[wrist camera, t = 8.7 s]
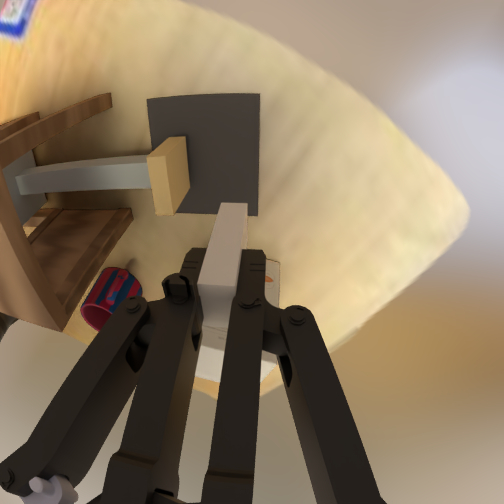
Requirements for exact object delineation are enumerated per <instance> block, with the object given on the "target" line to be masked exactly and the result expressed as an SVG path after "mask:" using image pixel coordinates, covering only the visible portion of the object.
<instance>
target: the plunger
mask: <svg viewBox="0 0 504 504" xmlns="http://www.w3.org/2000/svg"><path fill="white" fill-rule="evenodd" d="M2 171H3V174H4V178H5V181H6V184H7V187H8V190H9V193H10V196H11V199H12V201H13V204H14V207H15V210H16V212H17V215H18V217H19V220H20V222H21V225H22V226H23V225H24V224H25V223H26V222H27V221H28V220H29V219H30V218H31V217H32V216H33V215H34V214H35V213H36V212H37V211H38V210H39V209H40V208H41V207H42V206H43V205H45V204H46V203H47V200H46V197H45V194H44V193H51V192H66V191H84V190H107V189H152V195H153V200H154V206H155V211H156V215H169V216H174V214H175V212H176V210H177V209H178V207H179V205H180V204H181V202H182V200H183V199H184V197H185V195H186V194H187V192H188V190H189V189H190V181H189V171H188V161H187V150H186V138H185V136H184V137H169V138H168V139H166V140H165V141H164V142H163V143H162V144H161V145H159V146H158V147H157V148H156V149H155V150H154V151H153V152H152V153H150V154H149V155H135V156H121V157H110V158H99V159H90V160H81V161H73V162H65V163H58V164H51V165H45V166H39V167H36V164H35V160H34V156H33V152H32V150H30V151H29V152H27V153H26V154H24V155H22V156H21V157H19V158H18V159H16V160H15V161H14V162H12V163H11V164H9V165H8V166H6V167H5V168H4V169H2Z"/></svg>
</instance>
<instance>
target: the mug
mask: <svg viewBox="0 0 504 504" xmlns="http://www.w3.org/2000/svg"><path fill="white" fill-rule="evenodd" d="M134 295H137V296H142V288H141V286H140V284H139V282H138V281H137V280H136V278H135V277H134V276H132V275H131V274H130V273H128V271H126V270H124V269H120V268H115V267H110V268H106V269H104V270H103V271H102V273H101V274H100V276H99V277H98V279H97V281H96V282H95V284H94V286H93V287H92V289H91V291H90V292H89V294H88V296H87V297H86V299H85V301H84V303H83V304H82V306H81V309H80V311H81V314H82V317H83V318H84V320H85V321H86V322H87V323H88V324H89V325H90V326H91V327H92V328H94V329H95V330H97V331H100V330H101V328H102V327H103V326H104V324H105V323H106V322H107V320H108V319H109V318H110V316H111V315H112V314H113V312H114V311H115V310H116V309H117V307H118V306H119V305H120V303H121V302H122V301H123V300H124V299H126V298H128V297H130V296H134Z"/></svg>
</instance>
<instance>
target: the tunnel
mask: <svg viewBox="0 0 504 504" xmlns="http://www.w3.org/2000/svg"><path fill="white" fill-rule="evenodd" d="M111 107H112V100H111V93H106V94H101V95H97V96H94V97H92V98H89V99H87V100H84V101H81V102H79V103H76V104H74V105H72V106H69V107H67V108H64V109H62V110H60V111H58V112H55V113H53V114H51V115H49V116H47V117H45V118H43V119H41V120H40V118H39V112H35V113H32V114H29V115H26V116H24V117H21V118H18V119H16V120H13V121H10V122H8V123H5V124H3V125H0V312H1V313H4V314H7V315H9V316H12V317H15V318H18V319H21V320H24V321H27V322H30V323H33V324H36V325H39V326H42V327H45V328H49V329H52V330H56V331H59V332H62V331H63V330H64V328H65V326H66V324H67V322H68V320H69V319H70V317H71V315H72V313H73V312H74V310H75V308H76V306H77V305H78V303H79V301H80V300H81V298H82V296H83V294H84V293H85V291H86V290H87V288H88V286H89V285H90V283H91V281H92V280H93V278H94V277H95V275H96V273H97V272H98V270H99V269H100V267H101V266H102V264H103V263H104V261H105V260H106V258H107V257H108V255H109V254H110V252H111V251H112V249H113V248H114V246H115V245H116V243H117V242H118V240H119V239H120V237H121V236H122V235H123V233H124V232H125V230H126V229H127V228H128V226H129V225H130V223H131V222H132V221H133V216H132V212H131V208H119V209H118V210H63V209H39V210H38V211H37V212H36V213H35V214H34V215H33V216H32V217H31V218H30V219H29V220H28V221H27V222H26V223H25V224H24V225H23V226H24V227H37V228H36V229H35V230H34V231H33V232H32V233H31V234H30V235H29V236H28V237H26V234H25V232H24V230H23V227H22V225H21V222H20V220H19V217H18V215H17V212H16V210H15V207H14V204H13V201H12V199H11V196H10V193H9V190H8V187H7V184H6V181H5V178H4V174H3V171H2V169H4V168H5V167H6V166H8V165H9V164H11V163H12V162H14V161H15V160H16V159H18V158H19V157H21V156H22V155H24V154H26V153H27V152H29V151H30V150H32V149H33V148H35V147H37V146H38V145H40V144H42V143H43V142H45V141H47V140H48V139H50V138H52V137H53V136H55V135H57V134H59V133H61V132H62V131H64V130H66V129H68V128H70V127H72V126H74V125H75V124H77V123H79V122H81V121H83V120H85V119H87V118H89V117H91V116H94V115H96V114H98V113H100V112H102V111H104V110H106V109H109V108H111Z"/></svg>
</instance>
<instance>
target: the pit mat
mask: <svg viewBox="0 0 504 504" xmlns="http://www.w3.org/2000/svg"><path fill="white" fill-rule="evenodd" d="M147 107H148V117H149V126H150V135H151V143H152V150H153V151H154V150H155V149H156V148H157V147H158V146H159V145H161V144H162V143H163V142H164V141H165V140H166V139H168V138H169V137H184V136H185V138H186V150H187V161H188V171H189V181H190V189H189V190H188V192H187V194H186V195H185V197H184V199H183V200H182V202H181V204H180V205H179V207H178V209H177V210H176V212H175V213H196V214H218V211H219V208H220V205H221V203H247V216H258V174H259V112H260V94H201V95H185V96H173V97H162V98H153V99H147Z"/></svg>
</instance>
